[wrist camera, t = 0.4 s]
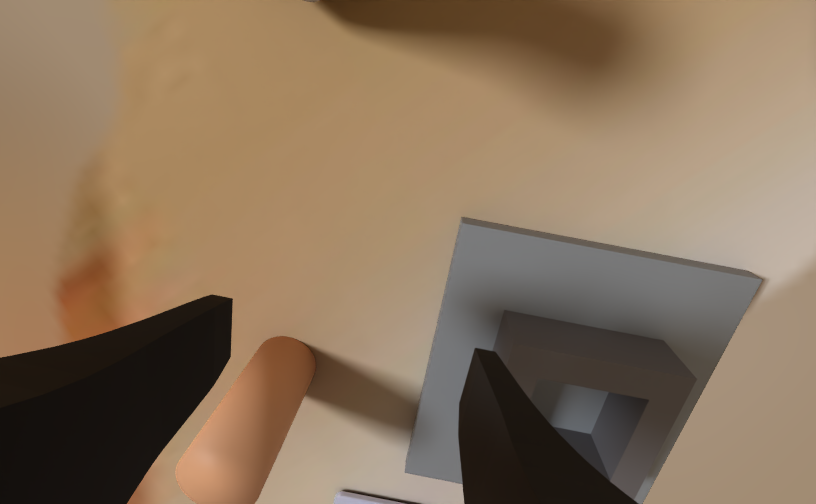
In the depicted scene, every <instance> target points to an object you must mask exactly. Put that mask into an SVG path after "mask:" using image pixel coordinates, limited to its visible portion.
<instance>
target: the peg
mask: <svg viewBox="0 0 816 504" xmlns="http://www.w3.org/2000/svg"><path fill="white" fill-rule="evenodd" d="M315 371H316V361H315V358H314V355H313V354H312V352H311V351H310V349H309V348H308V347H307V346H306V345H304V344H303V343H302V342H300V341H298V340H296V339H293V338H290V337H283V336H280V337H273V338H271V339H268V340H266V341H265V342H264V343H263V344H262V345H261V346H260V348H259V349H258V350H257V352H256V353H255V355H254V356H253V357H252V359H251V360H250V362H249V363H248V364H247V366H246V367H245V369H244V370H243V371H242V373H241V374H240V376H239V377H238V378H237V380H236V381H235V383H234V384H233V386H232V387H231V388H230V390H229V391H228V393H227V394H226V395H225V397H224V398H223V400H222V401H221V402H220V404H219V405H218V407H217V408H216V409H215V411H214V412H213V414H212V415H211V417H210V418H209V419H208V421H207V422H206V424H205V425H204V426H203V428H202V429H201V431H200V432H199V433H198V435H197V436H196V438H195V439H194V440H193V442H192V443H191V445H190V446H189V448H188V449H187V450H186V452H185V453H184V455H183V456H182V457H181V459H180V460H179V462H178V464H177V466H176V479H177V482H178V484H179V486H180V488H181V489H182V491H183V492H184V493H185V494H186V495H187V496H188V497H189V498H190V499H191V500H192V501H194V502H195V503H197V504H254V503H255V502H256V501H257V499H258V497H259V495H260V493H261V491H262V489H263V486H264V484H265V482H266V480H267V478H268V475H269V473H270V471H271V469H272V467H273V464H274V462H275V460H276V458H277V455H278V453H279V451H280V449H281V447H282V444H283V442H284V440H285V438H286V436H287V433H288V431H289V429H290V427H291V425H292V422H293V420H294V418H295V416H296V414H297V411H298V409H299V407H300V405H301V403H302V400H303V398H304V396H305V394H306V392H307V389H308V387H309V385H310V383H311V380H312V378H313V376H314V374H315Z"/></svg>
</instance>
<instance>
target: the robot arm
mask: <svg viewBox="0 0 816 504" xmlns="http://www.w3.org/2000/svg"><path fill="white" fill-rule="evenodd" d="M232 300H233V299H232V298H227V297H222V296H217V295H209V296H206V297H202V298H200V299H197V300H194V301H191V302H189V303H186V304H184V305H181V306H178V307H176V308H173V309H171V310H168V311H165V312H163V313H160V314H157V315H155V316H152V317H150V318H147V319H144V320H141V321H138V322H135V323H133V324H130V325H127V326H124V327H121V328H118V329H115V330H112V331H109V332H106V333H103V334H100V335H96V336H93V337H89V338H86V339H82V340H79V341H75V342H71V343H67V344H63V345H59V346H55V347H51V348H46V349H41V350H37V351H32V352H27V353H22V354H17V355H13V356H7V357H2V358H0V504H127V502H128V501H129V499H130V498H131V496H132V495H133V493H134V491H135V490H136V488H137V487H138V485H139V484H140V482H141V481H142V479H143V478H144V476H145V474H146V473H147V471H148V470H149V468H150V467H151V465H152V464H153V463H154V461H155V460H156V458H157V457H158V456H159V454H160V453H161V452H162V450H163V449H164V448H165V446H166V445H167V444H168V443H169V441H170V440H171V439H172V438H173V436H174V435H175V434H176V433H177V431H178V430H179V429H180V428H181V426H182V425H183V424H184V423H185V421H186V420H187V419H188V418H189V416H190V415H191V414H192V413H193V411H194V410H195V409H196V408H197V406H198V405H199V404H200V402H201V401H202V400H203V399H204V397H205V396H206V395H207V394H208V392H209V391H210V390H211V388H212V387H213V386H214V384H215V382H216V381H217V379H218V378H219V376H220V374H221V373H222V371H223V369H224V367H225V366H226V364H227V362H228V360H229V359H230V357H231V329H232ZM458 440H459V451H460V462H461V472H462V483H463V493H464V503H465V504H639V503H637V502H636V501H635V500H633V499H632V498H631V497H629V496H628V495H627V494H625V493H624V492H623V491H622V490H620V489H619V488H618V487H617V486H615V485H614V484H613V483H612V482H610V481H609V480H608V479H607V478H606V477H605V476H603V475H602V474H601V473H600V472H599V471H598V470H596V469H595V468H594V467H593V466H592V465H591V464H590V463H588V462H587V461H586V460H585V459H584V458H583V457H582V456H581V455H580V454H579V453H578V452H577V451H576V450H575V449H574V448H573V447H572V446H571V445H570V444H569V443H568V442H567V441H566V440H565V439H564V438H563V437H562V436H561V435H560V434H559V433H558V432H557V431H556V430H555V429H554V428H553V426H552V425H551V424H550V423H549V422H548V421H547V420H546V418H545V417H544V416H543V415H542V414H541V412H540V411H539V410H538V409H537V408H536V406H535V405H534V404H533V403H532V401H531V400H530V399H529V398H528V396H527V395H526V394H525V392H524V391H523V390H522V388H521V387H520V385H519V384H518V383H517V381H516V380H515V379H514V377H513V376H512V374H511V373H510V371H509V370H508V369H507V367H506V366H505V364H504V363H503V361H502V360H501V358H500V357H499V356H498V354H497V353H496V352H495V351H490V350H485V349H480V348H475V349H474V353H473V356H472V360H471V363H470V367H469V370H468V374H467V377H466V381H465V384H464V388H463V391H462V395H461V399H460V402H459V420H458ZM334 504H406V503H401V502H395V501H390V500H385V499H380V498H375V497H370V496H365V495H360V494H355V493H350V492H345V491H340V492H338V493H336V496H335V499H334Z"/></svg>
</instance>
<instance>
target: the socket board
mask: <svg viewBox="0 0 816 504" xmlns="http://www.w3.org/2000/svg"><path fill="white" fill-rule="evenodd" d="M761 282H762V279H760V278H759V277H757V276H755V275H754V274H752V273H751V272H749V271H745V270H740V269H735V268H730V267H724V266H719V265H714V264H708V263H703V262H698V261H692V260H687V259H682V258H677V257H671V256H666V255H661V254H655V253H650V252H645V251H639V250H634V249H629V248H624V247H618V246H613V245H608V244H602V243H597V242H592V241H587V240H581V239H576V238H571V237H565V236H560V235H555V234H549V233H544V232H539V231H534V230H528V229H523V228H518V227H512V226H507V225H502V224H496V223H491V222H486V221H481V220H475V219H470V218H465V217H461V222H460V226H459V230H458V235H457V239H456V243H455V248H454V252H453V257H452V261H451V265H450V270H449V274H448V278H447V283H446V287H445V292H444V296H443V300H442V305H441V309H440V313H439V318H438V322H437V327H436V331H435V335H434V340H433V344H432V348H431V353H430V357H429V362H428V366H427V370H426V375H425V379H424V383H423V388H422V392H421V397H420V401H419V405H418V410H417V414H416V418H415V423H414V427H413V432H412V436H411V440H410V445H409V449H408V453H407V458H406V466H405V473H409V474H414V475H419V476H424V477H429V478H434V479H439V480H445V481H450V482H455V483H460V484H463V483H462V472H461V462H460V451H459V440H458V420H459V402H460V399H461V395H462V391H463V388H464V384H465V381H466V377H467V374H468V370H469V367H470V363H471V360H472V356H473V353H474V349H475V348H480V349H485V350H490V351H495V352H496V353H497V354H498V356H499V357H500V358H501V360H502V361H503V363H504V364H505V366H506V367H507V369H508V370H509V371H510V373H511V374H512V376H513V377H514V379H515V380H516V381H517V383H518V384H519V385H520V387H521V388H522V390H523V391H524V392H525V394H526V395H527V396H528V398H529V399H530V400H531V401H532V403H533V404H534V405H535V406H536V408H537V409H538V410H539V411H540V412H541V414H542V415H543V416H544V417H545V418H546V420H547V421H548V422H549V423H550V424H551V425H552V426H553V428H554V429H555V430H556V431H557V432H558V433H559V434H560V435H561V436H562V437H563V438H564V439H565V440H566V441H567V442H568V443H569V444H570V445H571V446H572V447H573V448H574V449H575V450H576V451H577V452H578V453H579V454H580V455H581V456H582V457H583V458H584V459H585V460H586V461H587V462H588V463H590V464H591V465H592V466H593V467H594V468H595V469H596V470H598V471H599V472H600V473H601V474H602V475H603V476H605V477H606V478H607V479H608V480H609V481H610V482H612V483H613V484H614V485H615V486H617V487H618V488H619V489H620V490H622V491H623V492H624V493H625V494H627V495H628V496H629V497H631V498H632V499H633V500H635V501H636V502H637V503H639V504H643V502H644V500H645V498H646V496H647V494H648V492H649V490H650V488H651V487H652V485H653V483H654V481H655V479H656V477H657V476H658V474H659V472H660V470H661V468H662V466H663V464H664V463H665V461H666V459H667V457H668V455H669V453H670V451H671V449H672V447H673V446H674V444H675V442H676V440H677V438H678V436H679V435H680V432H681V431H682V429H683V427H684V425H685V423H686V421H687V420H688V418H689V416H690V414H691V412H692V410H693V408H694V406H695V405H696V403H697V401H698V399H699V397H700V395H701V394H702V392H703V390H704V388H705V386H706V384H707V382H708V380H709V379H710V376H711V375H712V373H713V371H714V369H715V367H716V366H717V364H718V362H719V360H720V358H721V356H722V354H723V353H724V351H725V349H726V347H727V345H728V343H729V341H730V339H731V338H732V336H733V334H734V332H735V330H736V328H737V326H738V325H739V323H740V321H741V319H742V317H743V315H744V313H745V312H746V310H747V308H748V306H749V304H750V302H751V300H752V298H753V297H754V295H755V293H756V291H757V289H758V287H759V285H760V284H761Z"/></svg>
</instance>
